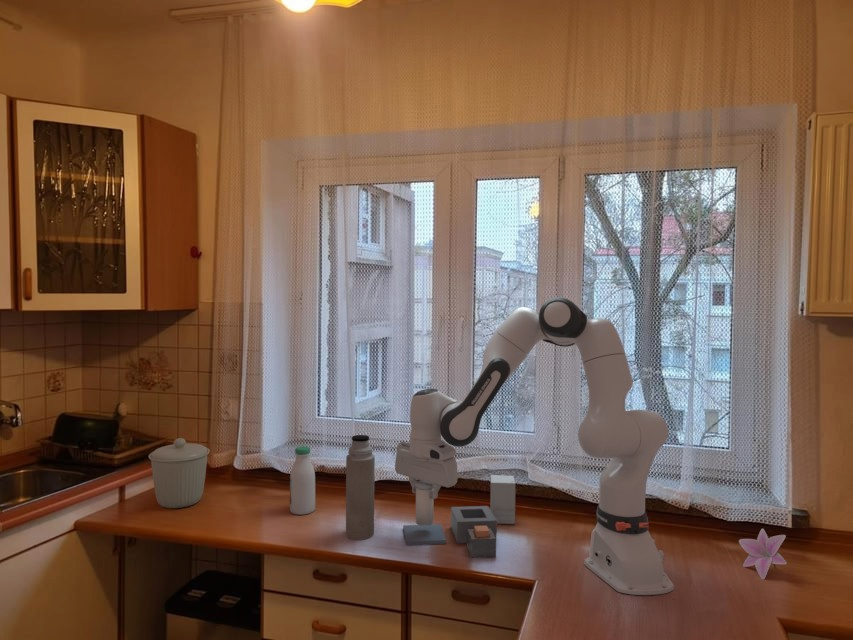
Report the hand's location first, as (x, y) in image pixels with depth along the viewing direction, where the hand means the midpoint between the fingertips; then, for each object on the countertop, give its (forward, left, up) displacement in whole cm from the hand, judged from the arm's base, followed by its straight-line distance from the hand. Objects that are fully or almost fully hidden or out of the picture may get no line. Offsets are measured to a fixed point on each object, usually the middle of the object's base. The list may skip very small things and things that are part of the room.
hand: (424, 495), depth 159 cm
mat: (0, 0, -12) cm, 12 cm away
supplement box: (+10, -25, -12) cm, 29 cm away
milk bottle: (+22, +36, -12) cm, 44 cm away
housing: (0, -14, -12) cm, 18 cm away
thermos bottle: (+3, +18, -12) cm, 22 cm away
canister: (+32, +76, -12) cm, 83 cm away
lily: (-28, -82, -12) cm, 88 cm away
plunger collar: (-12, -14, -12) cm, 22 cm away
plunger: (-12, -14, -11) cm, 21 cm away
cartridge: (0, 0, -8) cm, 8 cm away
